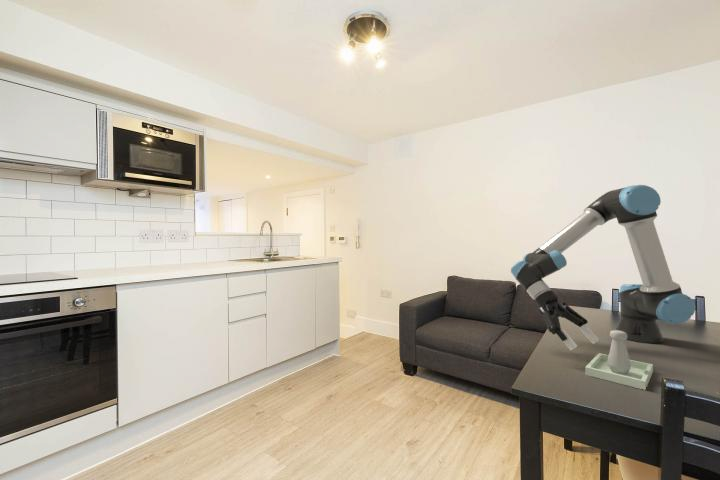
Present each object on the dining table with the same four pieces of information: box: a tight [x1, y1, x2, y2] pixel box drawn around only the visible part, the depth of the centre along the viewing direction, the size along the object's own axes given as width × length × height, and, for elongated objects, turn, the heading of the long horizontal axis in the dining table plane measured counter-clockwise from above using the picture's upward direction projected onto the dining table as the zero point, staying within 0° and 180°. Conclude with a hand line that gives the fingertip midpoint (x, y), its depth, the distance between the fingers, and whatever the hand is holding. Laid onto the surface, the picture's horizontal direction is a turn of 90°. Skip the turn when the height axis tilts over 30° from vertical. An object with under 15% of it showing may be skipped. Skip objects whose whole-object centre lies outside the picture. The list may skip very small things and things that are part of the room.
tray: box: [584, 352, 654, 391], centre depth 99 cm, size 18×14×2 cm
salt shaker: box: [607, 329, 631, 375], centre depth 99 cm, size 6×6×13 cm
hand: (585, 345), depth 107 cm, fingers open, 13 cm apart
